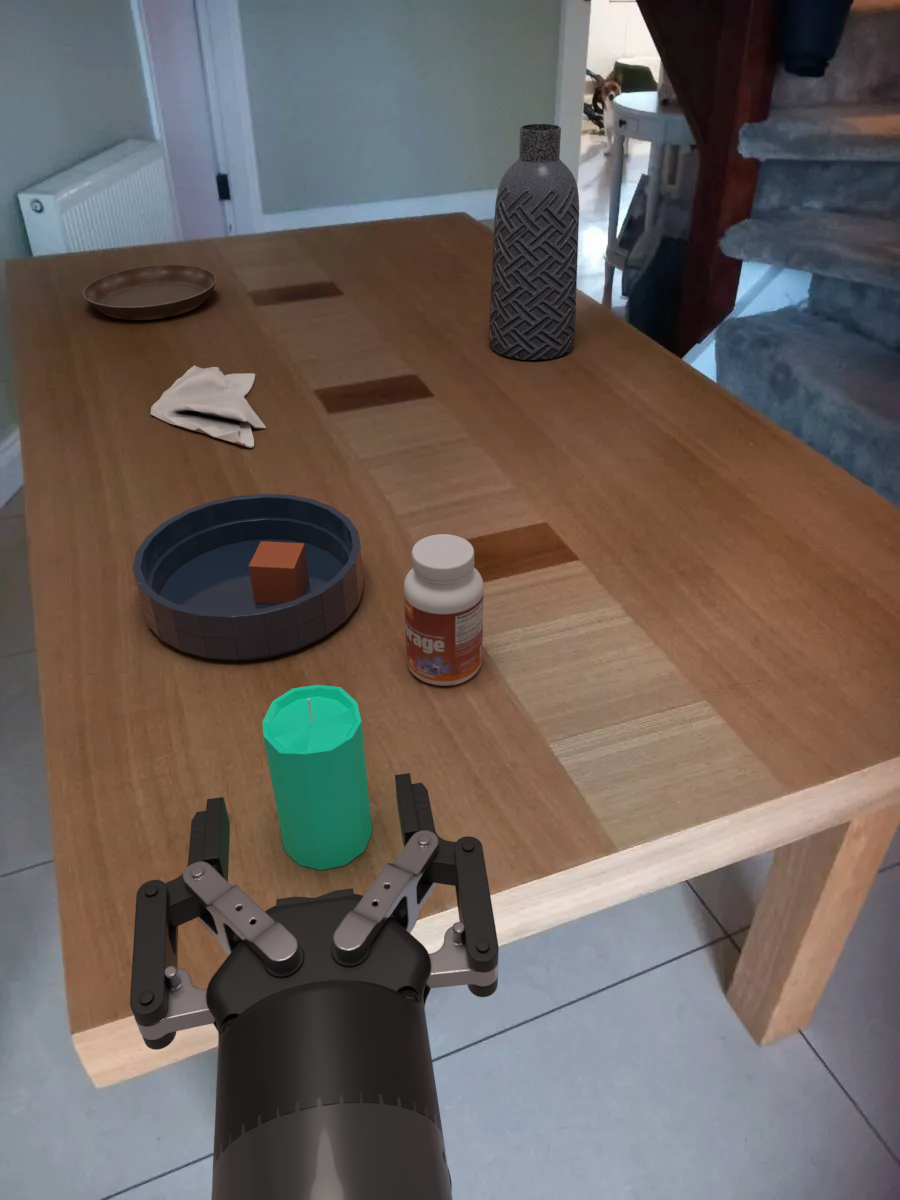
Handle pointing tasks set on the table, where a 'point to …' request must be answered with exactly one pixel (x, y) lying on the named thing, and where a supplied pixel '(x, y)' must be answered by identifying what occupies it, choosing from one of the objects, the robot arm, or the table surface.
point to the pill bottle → (443, 611)
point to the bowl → (246, 576)
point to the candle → (318, 775)
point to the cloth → (211, 405)
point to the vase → (535, 251)
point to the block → (278, 572)
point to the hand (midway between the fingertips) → (311, 797)
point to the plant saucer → (150, 291)
